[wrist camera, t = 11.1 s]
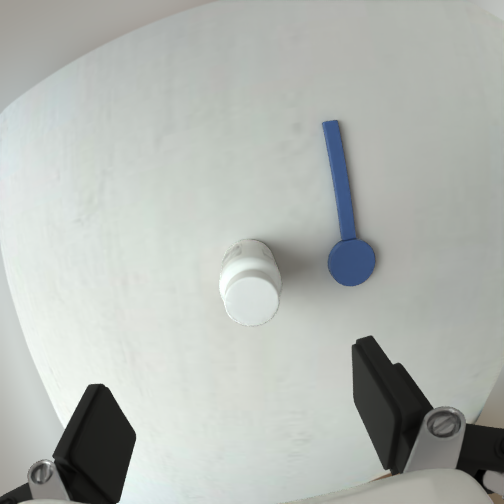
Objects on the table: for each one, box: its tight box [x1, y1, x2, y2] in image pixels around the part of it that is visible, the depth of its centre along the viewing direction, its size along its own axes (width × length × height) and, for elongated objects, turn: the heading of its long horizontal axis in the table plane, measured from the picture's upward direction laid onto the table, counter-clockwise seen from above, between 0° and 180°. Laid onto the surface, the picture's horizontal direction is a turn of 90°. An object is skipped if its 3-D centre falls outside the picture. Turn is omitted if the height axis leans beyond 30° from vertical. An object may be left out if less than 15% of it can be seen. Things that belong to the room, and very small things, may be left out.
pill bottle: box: [219, 239, 282, 326], centre depth 23 cm, size 4×4×8 cm
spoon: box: [322, 120, 375, 286], centre depth 25 cm, size 14×4×1 cm, turn 12°
